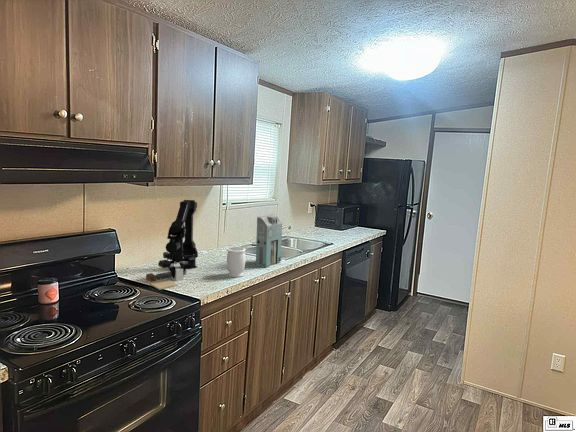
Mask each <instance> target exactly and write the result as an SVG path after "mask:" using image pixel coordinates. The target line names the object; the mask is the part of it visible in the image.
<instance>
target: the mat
mask: <svg viewBox="0 0 576 432" xmlns="http://www.w3.org/2000/svg"><path fill="white" fill-rule="evenodd" d="M147 284H149V285H150V286H152V287H154V288H155V289H156V290H159V291H161V290H165V289H170V288H174V287H179V284H177V283H175V282H173V281H172V280H170V279H168V278H164V279H157V280H156V281H153V282H149V281H148V283H147Z"/></svg>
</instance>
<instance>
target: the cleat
mask: <svg viewBox="0 0 576 432" xmlns="http://www.w3.org/2000/svg"><path fill="white" fill-rule="evenodd" d="M145 278H146V279H145V280H146V281H148V282H153V281H157V279H156V274H154V273H152V272H151V273H150V272H149V273H146V274H145Z"/></svg>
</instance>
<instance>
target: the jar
mask: <svg viewBox="0 0 576 432" xmlns="http://www.w3.org/2000/svg"><path fill="white" fill-rule="evenodd" d="M246 251H247V249H246V248H244V247H239V246H232V247H228V248H226V252H227V255H226V264H227V265H226V266H227V270H228V273H227V275H228V276H229V277H231V276H232V278H240V277H239V276H241V277H243V276H244V270H245V268H246V267H245V266H246V258H247V257H246Z"/></svg>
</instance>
